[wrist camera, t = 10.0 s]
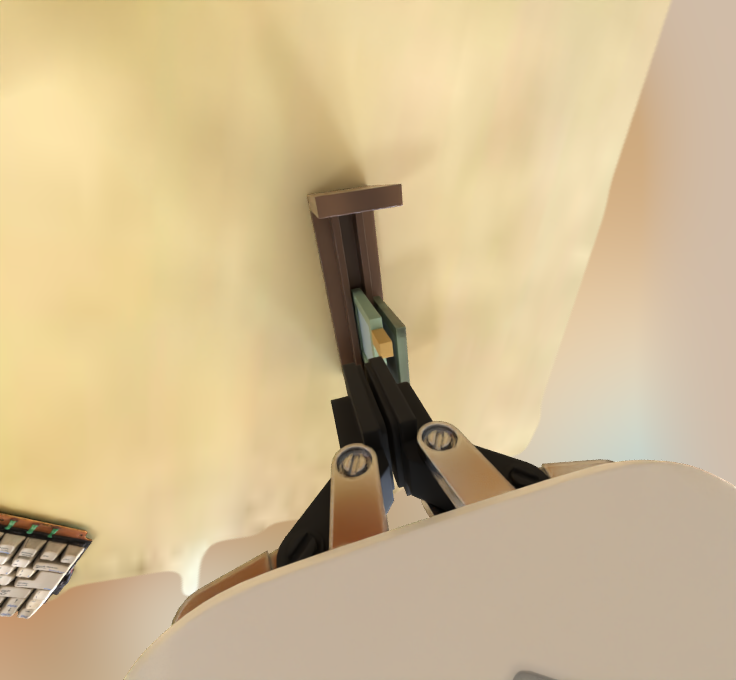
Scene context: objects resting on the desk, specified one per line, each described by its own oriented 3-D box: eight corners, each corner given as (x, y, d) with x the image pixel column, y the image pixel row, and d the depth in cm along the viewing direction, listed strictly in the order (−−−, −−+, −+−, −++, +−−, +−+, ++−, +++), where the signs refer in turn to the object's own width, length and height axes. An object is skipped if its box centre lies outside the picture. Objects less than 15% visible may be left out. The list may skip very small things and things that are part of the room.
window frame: (343, 374, 44) (359, 428, 34) (306, 194, 33) (314, 196, 23) (388, 363, 45) (417, 413, 35) (368, 185, 34) (401, 183, 24)
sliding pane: (361, 355, 42) (388, 417, 30) (350, 289, 37) (377, 332, 26) (369, 353, 42) (399, 414, 30) (359, 287, 37) (390, 329, 26)
